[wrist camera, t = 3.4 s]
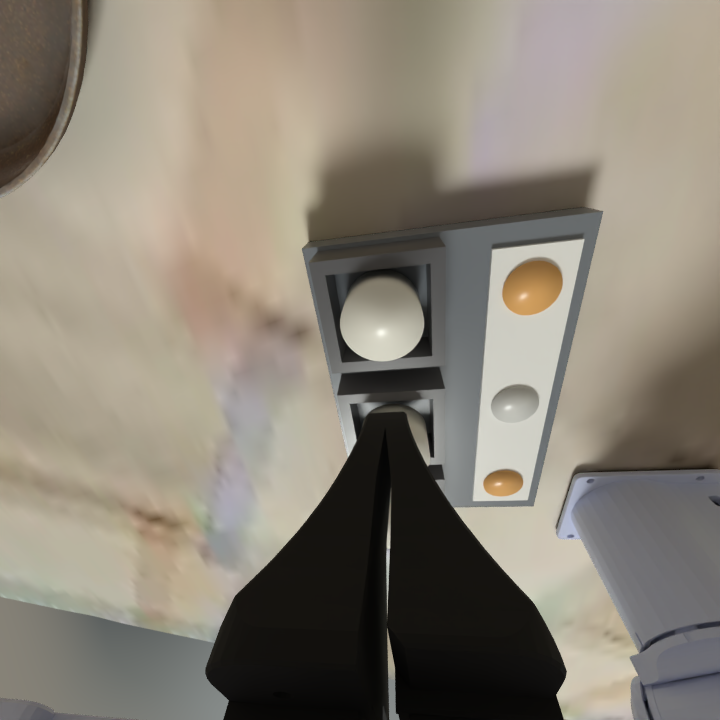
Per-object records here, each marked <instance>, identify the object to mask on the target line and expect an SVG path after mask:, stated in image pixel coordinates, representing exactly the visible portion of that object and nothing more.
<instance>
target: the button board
mask: <svg viewBox="0 0 720 720" xmlns="http://www.w3.org/2000/svg"><path fill="white" fill-rule="evenodd" d="M602 214H603V211H599V210H595V209H591V208H586V207H581V208H573V209H565V210H557V211H549V212H541V213H533V214H525V215H518V216H510V217H502V218H494V219H486V220H478V221H470V222H462V223H454V224H447V225H439V226H431V227H423V228H415V229H407V230H399V231H391V232H383V233H376V234H368V235H360V236H352V237H344V238H336V239H328V240H320V241H313V242H308V243H307V244H306V245H305V246H304V247H303V248H302V251H303V256H304V260H305V265H306V269H307V274H308V279H309V283H310V288H311V292H312V297H313V301H314V306H315V311H316V315H317V320H318V324H319V329H320V333H321V338H322V342H323V347H324V352H325V356H326V361H327V365H328V370H329V374H330V379H331V384H332V388H333V393H334V397H335V402H336V406H337V411H338V415H339V420H340V425H341V429H342V434H343V438H344V443H345V447H346V452H347V457H349V455H350V453H351V451H352V449H353V447H354V445H355V443H356V441H357V439H358V437H359V434H360V432H361V430H362V426H363V421H364V418H365V417H366V415H367V414H368V413H369V412H370V411H371V410H373V409H374V408H376V407H379V406H381V405H385V404H402V405H406V406H409V407H411V408H413V409H415V410H416V411H418V412H419V413H420V414H421V415H422V417H423V418H424V420H425V423H426V430H427V437H428V444H429V451H430V463H429V465H428V468H429V470H430V472H431V473H432V475H433V477H434V479H435V480H436V482H437V484H438V485H439V487H440V489H441V490H442V492H443V493H444V495H445V496H446V498H447V499H448V501H449V502H450V504H451V505H452V507H514V506H534V502H535V497H536V493H537V489H538V485H539V481H540V476H541V472H542V468H543V464H544V459H545V455H546V451H547V447H548V443H549V438H550V434H551V430H552V426H553V421H554V417H555V413H556V409H557V404H558V400H559V396H560V392H561V388H562V383H563V379H564V375H565V371H566V366H567V362H568V358H569V354H570V349H571V345H572V341H573V337H574V333H575V328H576V324H577V320H578V316H579V311H580V307H581V303H582V299H583V294H584V290H585V286H586V282H587V278H588V273H589V269H590V265H591V261H592V256H593V252H594V248H595V244H596V239H597V235H598V231H599V227H600V223H601V218H602ZM380 269H386V270H392V271H396V272H398V273H400V274H402V275H404V276H405V277H407V278H408V279H409V280H410V281H411V282H412V283H413V285H414V286H415V288H416V290H417V292H418V295H419V299H420V303H421V308H422V312H423V316H424V330H423V334H422V337H421V339H420V341H419V342H418V344H417V345H416V346H415V347H414V349H413V350H411V351H410V352H409V353H408V354H406V355H405V356H403V357H401V358H398V359H395V360H391V361H373V360H369V359H366V358H364V357H361V356H360V355H358V354H356V353H355V352H354V351H353V350H352V349H351V348H350V347H349V346H348V345H347V344H346V342H345V340H344V339H343V336H342V333H341V329H340V318H341V313H342V310H343V307H344V303H345V300H346V297H347V294H348V291H349V289H350V287H351V286H352V284H353V283H354V282H355V281H356V280H357V279H358V278H359V277H360V276H362V275H364V274H365V273H368V272H370V271H373V270H380Z"/></svg>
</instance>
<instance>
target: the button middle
mask: <svg viewBox="0 0 720 720" xmlns="http://www.w3.org/2000/svg"><path fill="white" fill-rule="evenodd" d="M383 412H405V413H406V414H407V419H408V423H409V426H410V429H411V432H412V434H413V437H414V439H415V442H416V444H417V446H418V448H419V450H420V453H421V455H422V457H423V459H424V461H425V463H426V464H427V466H428V465H429V463H430V451H429V444H428V437H427V430H426V423H425V420H424V418H423V417H422V415H421V414H420V413H419V412H418V411H416V410H415V409H413V408H411V407H409V406H406V405H402V404H385V405H381V406H379V407H376V408H374V409H373V410H371V411H370V412H369V413H383ZM369 413H368V414H369ZM368 414H367V415H368ZM367 415H366V416H367ZM365 419H366V417H365V418H364V421H363V424H364V422H365ZM362 427H363V426H362Z"/></svg>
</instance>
